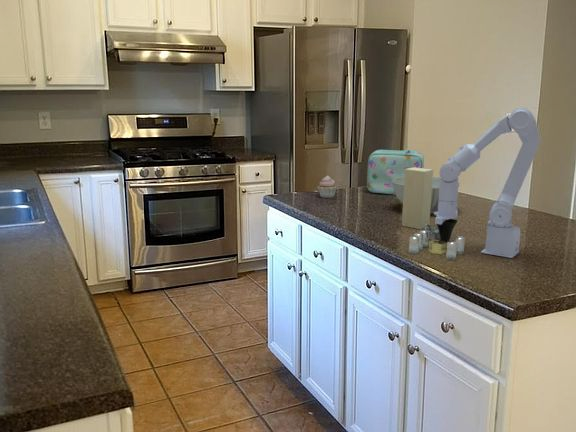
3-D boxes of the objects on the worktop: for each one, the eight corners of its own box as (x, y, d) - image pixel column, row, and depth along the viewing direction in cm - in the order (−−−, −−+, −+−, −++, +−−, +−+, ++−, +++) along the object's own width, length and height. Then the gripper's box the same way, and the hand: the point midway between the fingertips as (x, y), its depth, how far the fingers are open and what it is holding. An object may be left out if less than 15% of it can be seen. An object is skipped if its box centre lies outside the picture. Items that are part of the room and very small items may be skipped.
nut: (446, 250, 178) (447, 240, 178) (445, 254, 174) (445, 244, 173) (429, 249, 180) (429, 239, 179) (427, 253, 176) (428, 243, 175)
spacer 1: (419, 252, 176) (420, 236, 175) (415, 254, 174) (416, 238, 173) (411, 251, 178) (411, 235, 177) (407, 253, 176) (408, 237, 174)
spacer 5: (464, 252, 176) (466, 237, 175) (461, 254, 174) (463, 239, 173) (456, 251, 178) (457, 235, 177) (452, 253, 175) (454, 237, 174)
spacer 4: (457, 258, 171) (458, 242, 169) (453, 260, 168) (455, 244, 167) (448, 256, 172) (449, 240, 171) (444, 258, 170) (445, 242, 169)
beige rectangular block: (431, 225, 209) (434, 169, 204) (420, 229, 204) (423, 171, 199) (411, 222, 214) (414, 166, 210) (401, 225, 209) (404, 169, 204)
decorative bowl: (455, 220, 218) (457, 189, 215) (385, 215, 226) (386, 185, 223) (458, 206, 242) (460, 178, 240) (395, 202, 251) (396, 174, 248)
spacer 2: (423, 248, 180) (424, 233, 179) (420, 250, 178) (421, 235, 177) (415, 247, 182) (416, 232, 181) (411, 249, 179) (412, 234, 178)
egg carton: (422, 232, 201) (423, 221, 200) (444, 233, 200) (445, 222, 199) (426, 240, 190) (426, 228, 189) (449, 241, 189) (449, 229, 189)
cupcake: (331, 194, 268) (331, 173, 265) (341, 198, 259) (341, 176, 257) (313, 196, 264) (313, 174, 262) (322, 199, 256) (323, 177, 253)
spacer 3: (429, 245, 184) (430, 230, 183) (425, 247, 181) (426, 232, 180) (420, 244, 185) (421, 229, 184) (417, 246, 183) (418, 231, 182)
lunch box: (425, 193, 270) (428, 148, 266) (423, 197, 261) (426, 150, 256) (369, 190, 278) (371, 146, 274) (365, 194, 269) (367, 148, 264)
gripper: (443, 195, 187) (441, 235, 190) (426, 202, 175) (424, 244, 178) (465, 197, 183) (462, 238, 186) (449, 205, 171) (445, 248, 175)
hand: (444, 241), depth 182 cm, fingers closed
